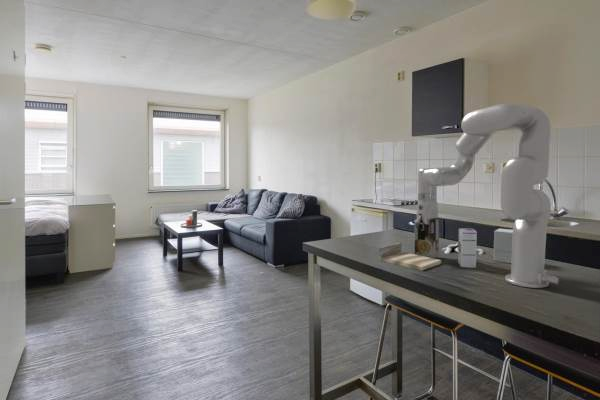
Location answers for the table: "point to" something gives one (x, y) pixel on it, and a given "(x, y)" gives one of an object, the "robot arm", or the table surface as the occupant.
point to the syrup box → (467, 247)
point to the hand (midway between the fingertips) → (426, 238)
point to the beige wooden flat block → (405, 258)
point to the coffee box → (428, 240)
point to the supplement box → (503, 245)
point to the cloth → (455, 249)
